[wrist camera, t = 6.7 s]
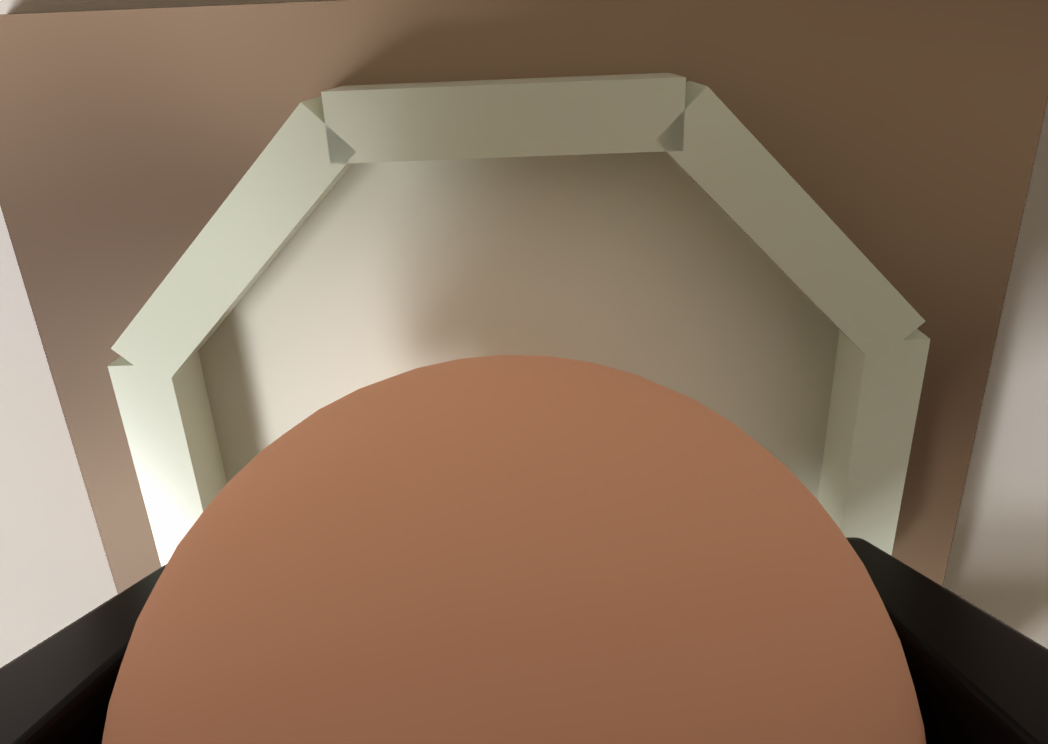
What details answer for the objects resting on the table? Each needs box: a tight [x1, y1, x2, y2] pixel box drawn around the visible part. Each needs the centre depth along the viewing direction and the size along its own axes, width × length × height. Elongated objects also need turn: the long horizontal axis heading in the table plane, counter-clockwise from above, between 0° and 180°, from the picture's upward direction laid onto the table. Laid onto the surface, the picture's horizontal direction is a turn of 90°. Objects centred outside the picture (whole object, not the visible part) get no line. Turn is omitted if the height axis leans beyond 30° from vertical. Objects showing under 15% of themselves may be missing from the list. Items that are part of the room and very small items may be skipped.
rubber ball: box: [102, 355, 926, 744], centre depth 6 cm, size 6×6×6 cm
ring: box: [108, 73, 930, 566], centre depth 10 cm, size 9×9×1 cm
